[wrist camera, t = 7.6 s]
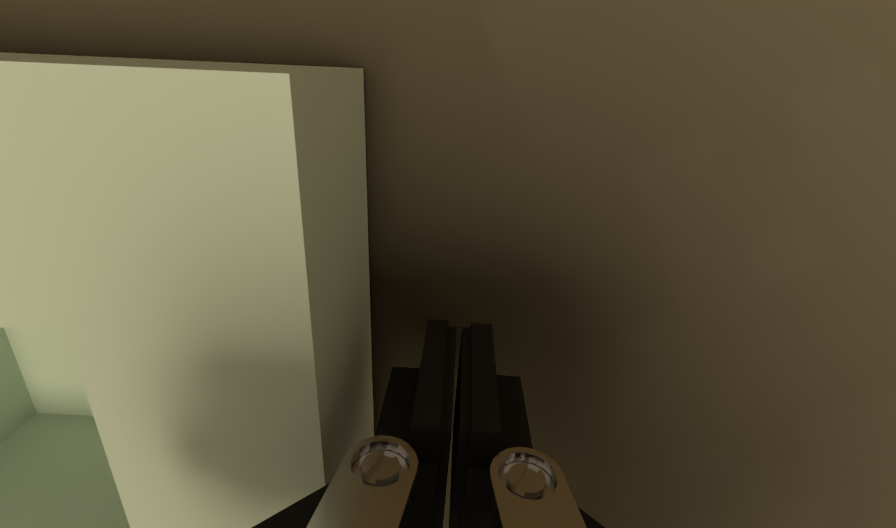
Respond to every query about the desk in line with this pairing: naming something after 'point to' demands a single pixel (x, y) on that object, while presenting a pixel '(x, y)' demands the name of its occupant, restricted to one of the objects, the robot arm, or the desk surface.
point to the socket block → (179, 289)
